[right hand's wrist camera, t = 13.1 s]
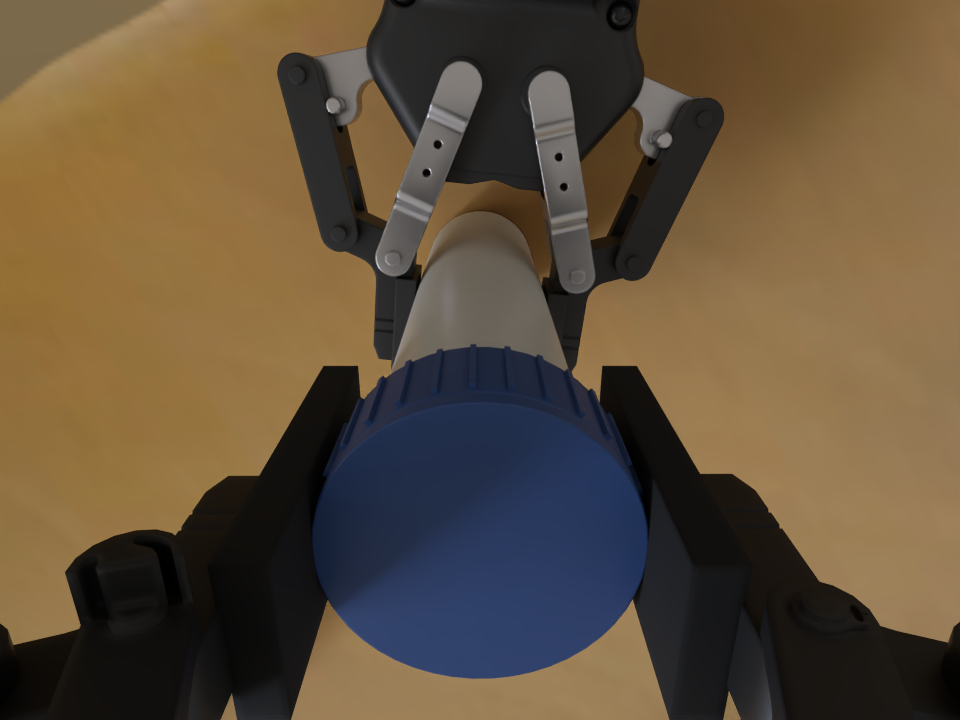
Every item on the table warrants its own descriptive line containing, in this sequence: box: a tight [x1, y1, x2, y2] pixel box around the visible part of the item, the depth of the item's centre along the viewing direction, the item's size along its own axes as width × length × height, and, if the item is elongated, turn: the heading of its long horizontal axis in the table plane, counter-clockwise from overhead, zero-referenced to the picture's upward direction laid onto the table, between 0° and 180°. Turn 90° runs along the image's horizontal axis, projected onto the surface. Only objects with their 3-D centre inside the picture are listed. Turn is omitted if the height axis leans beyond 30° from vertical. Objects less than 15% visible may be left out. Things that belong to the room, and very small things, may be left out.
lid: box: [312, 344, 649, 679], centre depth 11 cm, size 6×6×2 cm
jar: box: [390, 211, 569, 375], centre depth 20 cm, size 4×4×20 cm
